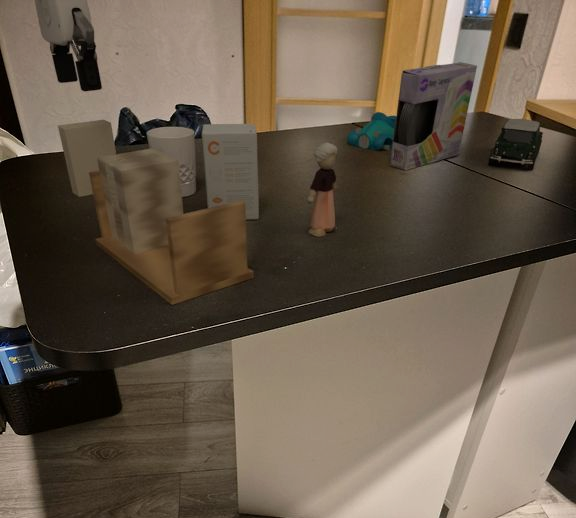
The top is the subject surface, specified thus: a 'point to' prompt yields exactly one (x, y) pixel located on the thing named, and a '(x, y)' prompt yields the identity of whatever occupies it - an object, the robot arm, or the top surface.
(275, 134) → the top surface
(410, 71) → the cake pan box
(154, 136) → the white cup
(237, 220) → the book rack
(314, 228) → the grandmother figurine
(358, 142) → the toy car
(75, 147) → the cream book
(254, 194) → the small box
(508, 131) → the miniature car
